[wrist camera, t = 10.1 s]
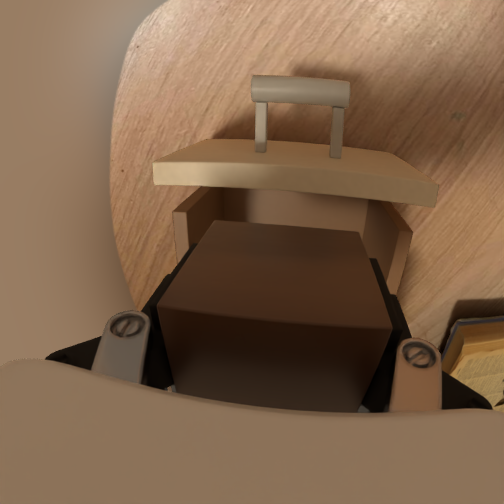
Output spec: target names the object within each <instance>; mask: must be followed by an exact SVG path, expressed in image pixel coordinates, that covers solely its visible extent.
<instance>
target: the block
mask: <svg viewBox="0 0 504 504" xmlns="http://www.w3.org/2000/svg"><path fill="white" fill-rule="evenodd" d="M157 310H158V315H159V320H160V325H161V330H162V334H163V339H164V344H165V348H166V352H167V357H168V361H169V365H170V369H171V373H172V377H173V381H174V385H175V389H176V392H177V393H179V394H184V395H189V396H194V397H200V398H205V399H211V400H217V401H223V402H229V403H236V404H243V405H251V406H259V407H267V408H277V409H288V410H300V411H316V412H339V413H357V411H358V409H359V407H360V405H361V403H362V401H363V399H364V396H365V394H366V392H367V390H368V388H369V385H370V383H371V381H372V379H373V376H374V374H375V372H376V369H377V367H378V365H379V362H380V360H381V357H382V355H383V352H384V350H385V347H386V345H387V342H388V339H389V337H390V334H391V331H392V324H391V321H390V318H389V315H388V312H387V309H386V306H385V303H384V300H383V297H382V294H381V291H380V288H379V285H378V282H377V279H376V276H375V273H374V271H373V268H372V265H371V263H370V260H369V257H368V254H367V252H366V249H365V247H364V244H363V241H362V239H361V236H360V234H359V232H356V231H345V230H335V229H324V228H312V227H301V226H288V225H276V224H263V223H249V222H235V221H220V220H215V221H214V222H213V223H212V225H211V226H210V228H209V229H208V230H207V232H206V233H205V235H204V236H203V237H202V239H201V240H200V242H199V243H198V245H197V246H196V248H195V249H194V250H193V252H192V253H191V255H190V256H189V258H188V259H187V261H186V262H185V264H184V265H183V266H182V268H181V269H180V271H179V272H178V274H177V275H176V277H175V278H174V280H173V281H172V283H171V284H170V286H169V287H168V289H167V290H166V292H165V293H164V295H163V296H162V298H161V299H160V301H159V302H158V304H157Z"/></svg>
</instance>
